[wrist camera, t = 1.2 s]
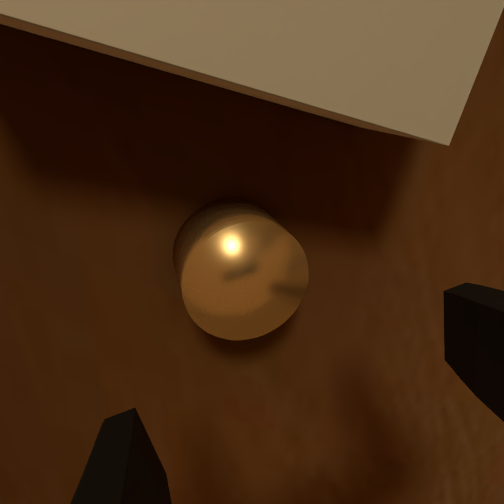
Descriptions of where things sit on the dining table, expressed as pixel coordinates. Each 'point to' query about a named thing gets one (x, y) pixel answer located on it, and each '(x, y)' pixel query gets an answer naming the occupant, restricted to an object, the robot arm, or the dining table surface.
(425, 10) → the beige square holder
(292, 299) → the gold rounded piece
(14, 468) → the dining table surface
